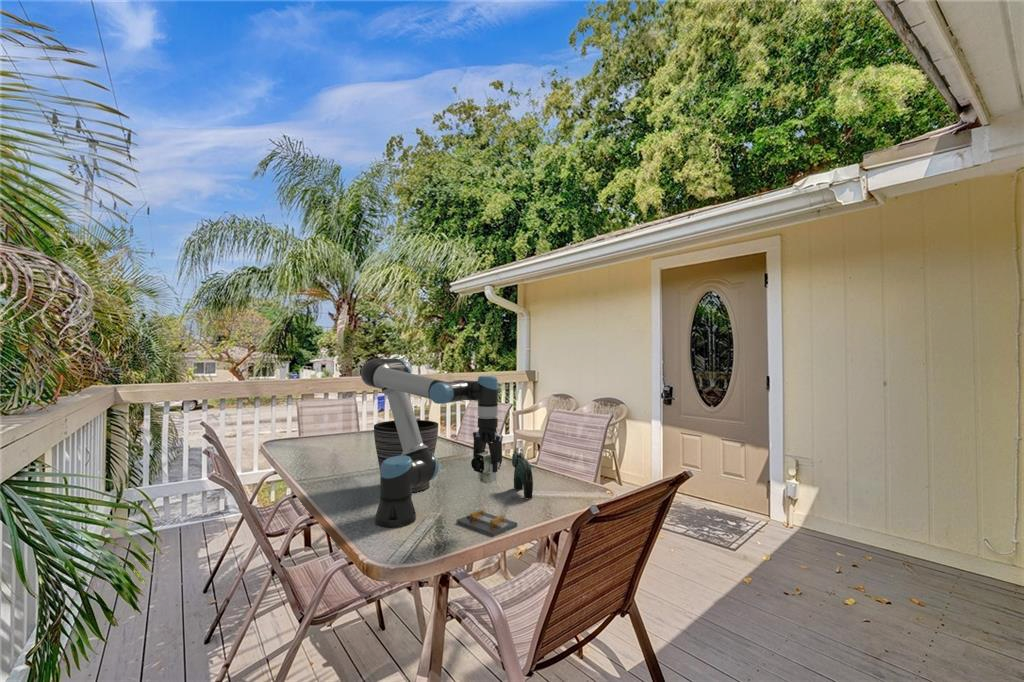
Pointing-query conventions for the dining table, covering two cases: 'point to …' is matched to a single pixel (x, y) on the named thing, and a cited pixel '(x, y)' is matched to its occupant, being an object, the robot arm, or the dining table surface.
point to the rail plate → (486, 522)
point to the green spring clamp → (522, 474)
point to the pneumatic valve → (483, 465)
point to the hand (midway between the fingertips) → (487, 479)
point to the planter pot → (391, 444)
